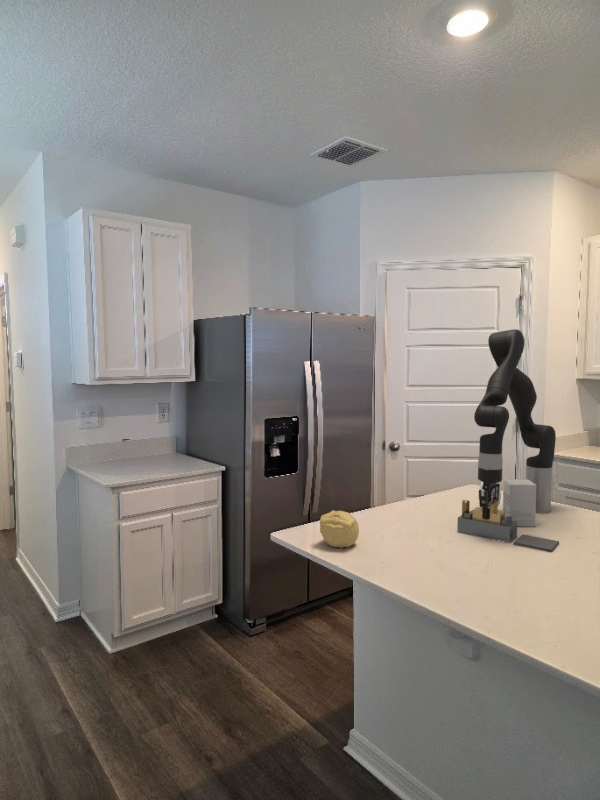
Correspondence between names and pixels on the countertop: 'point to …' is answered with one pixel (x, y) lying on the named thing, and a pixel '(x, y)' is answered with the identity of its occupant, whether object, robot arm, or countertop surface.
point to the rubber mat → (536, 543)
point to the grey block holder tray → (486, 526)
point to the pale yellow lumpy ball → (339, 529)
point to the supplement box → (520, 501)
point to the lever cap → (495, 514)
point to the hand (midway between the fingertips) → (488, 517)
